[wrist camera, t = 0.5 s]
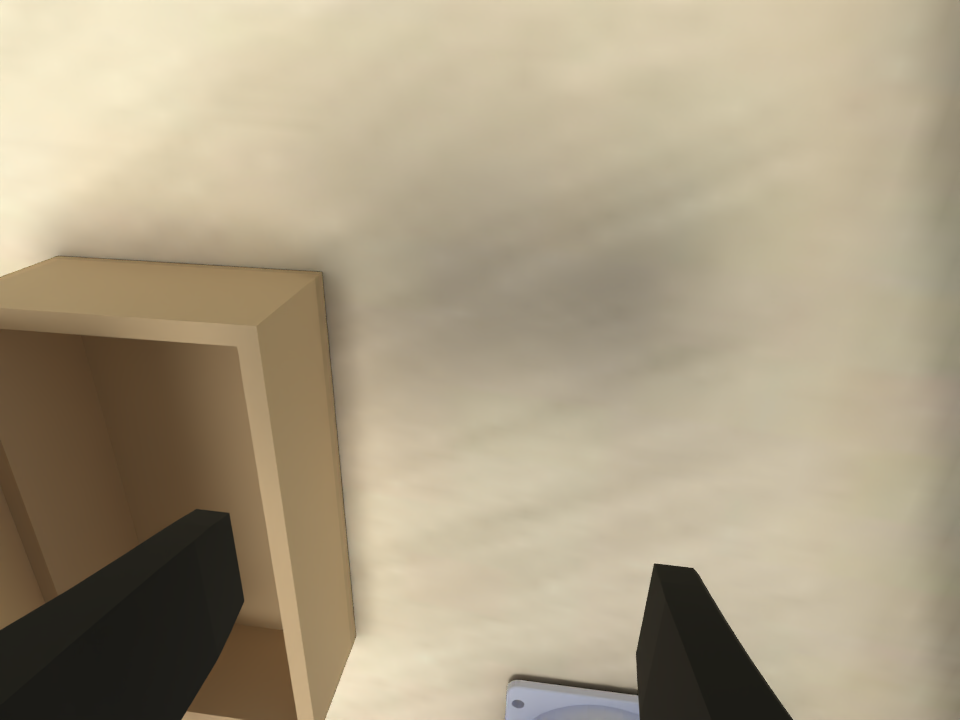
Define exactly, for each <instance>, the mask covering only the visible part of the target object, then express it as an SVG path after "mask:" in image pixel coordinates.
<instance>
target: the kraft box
mask: <svg viewBox="0 0 960 720" xmlns="http://www.w3.org/2000/svg"><path fill="white" fill-rule="evenodd" d="M0 486H1V489H2V492H3V494H4V497H5V499H6V502H7V505H8V507H9V510H10V513H11V515H12V518H13V520H14V523H15V526H16V528H17V531H18V533H19V536H20V539H21V541H22V544H23V546H24V549H25V552H26V554H27V557H28V560H29V562H30V565H31V567H32V570H33V573H34V575H35V578H36V580H37V583H38V586H39V588H40V591H41V593H42V596H43V599H44V601H45V603H47V602H48V601H50V600H52V599H54V598H55V597H57V596H59V595H60V594H62V593H64V592H65V591H67V590H69V589H70V588H72V587H74V586H75V585H77V584H78V583H80V582H81V581H83V580H85V579H86V578H88V577H89V576H91V575H93V574H94V573H96V572H97V571H99V570H100V569H102V568H104V567H105V566H107V565H108V564H110V563H111V562H113V561H115V560H116V559H118V558H119V557H121V556H122V555H124V554H126V553H127V552H129V551H130V550H132V549H133V548H135V547H136V546H138V545H139V544H141V543H143V542H144V541H146V540H147V539H149V538H150V537H152V536H153V535H155V534H156V533H158V532H160V531H161V530H163V529H164V528H166V527H167V526H169V525H171V524H172V523H174V522H175V521H177V520H179V519H180V518H182V517H184V516H185V515H187V514H189V513H190V512H192V511H194V510H195V509H201V510H210V511H218V512H227V513H230V519H231V525H232V531H233V536H234V542H235V548H236V554H237V560H238V566H239V571H240V577H241V583H242V589H243V595H244V603H243V606H242V608H241V610H240V612H239V615H238V617H237V619H236V622H235V624H234V626H233V628H232V631H231V633H230V635H229V637H228V639H227V641H226V643H225V645H224V648H223V650H222V652H221V654H220V656H219V658H218V660H217V662H216V663H215V665H214V667H213V668H212V670H211V672H210V673H209V675H208V677H207V678H206V680H205V682H204V683H203V685H202V687H201V688H200V690H199V692H198V693H197V695H196V697H195V698H194V700H193V702H192V703H191V705H190V707H189V708H188V710H187V711H186V713H185V715H184V716H183V718H182V720H325V718H326V715H327V713H328V710H329V707H330V705H331V702H332V699H333V697H334V694H335V691H336V689H337V686H338V683H339V681H340V678H341V675H342V673H343V670H344V667H345V665H346V662H347V659H348V657H349V654H350V652H351V649H352V646H353V644H354V641H355V638H356V633H355V622H354V611H353V600H352V590H351V579H350V568H349V557H348V547H347V536H346V525H345V514H344V503H343V493H342V482H341V471H340V460H339V450H338V439H337V428H336V417H335V407H334V396H333V385H332V374H331V364H330V353H329V342H328V331H327V320H326V310H325V299H324V288H323V277H322V272H313V271H296V270H280V269H263V268H247V267H230V266H214V265H197V264H181V263H165V262H148V261H132V260H115V259H99V258H82V257H66V256H56V257H53V258H51V259H48V260H45V261H42V262H40V263H37V264H34V265H32V266H29V267H26V268H23V269H21V270H18V271H15V272H13V273H10V274H7V275H4V276H2V277H0Z"/></svg>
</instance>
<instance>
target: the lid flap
mask: <svg viewBox="0 0 960 720" xmlns="http://www.w3.org/2000/svg"><path fill="white" fill-rule="evenodd" d="M43 604H45V601H44V599H43V596H42V593H41V591H40V588H39V586H38V583H37V580H36V578H35V575H34V573H33V570H32V567H31V565H30V562H29V560H28V557H27V554H26V552H25V549H24V546H23V544H22V541H21V539H20V536H19V533H18V531H17V528H16V526H15V523H14V520H13V518H12V515H11V513H10V510H9V507H8V505H7V502H6V499H5V497H4V494H3V492H2V489H1V486H0V630H1V629H3V628H5V627H6V626H8V625H10V624H11V623H13V622H15V621H16V620H18V619H20V618H21V617H23V616H25V615H26V614H28V613H30V612H32V611H33V610H35V609H37V608H38V607H40V606H42V605H43Z"/></svg>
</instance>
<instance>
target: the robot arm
mask: <svg viewBox="0 0 960 720" xmlns="http://www.w3.org/2000/svg"><path fill="white" fill-rule="evenodd" d="M243 603H244V595H243V589H242V583H241V577H240V571H239V566H238V560H237V554H236V548H235V542H234V536H233V531H232V525H231V519H230V513H227V512H218V511H210V510H201V509H195V510H194V511H192V512H190V513H189V514H187V515H185V516H184V517H182V518H180V519H179V520H177V521H175V522H174V523H172V524H171V525H169V526H167V527H166V528H164V529H163V530H161V531H160V532H158V533H156V534H155V535H153V536H152V537H150V538H149V539H147V540H146V541H144V542H143V543H141V544H139V545H138V546H136V547H135V548H133V549H132V550H130V551H129V552H127V553H126V554H124V555H122V556H121V557H119V558H118V559H116V560H115V561H113V562H111V563H110V564H108V565H107V566H105V567H104V568H102V569H100V570H99V571H97V572H96V573H94V574H93V575H91V576H89V577H88V578H86V579H85V580H83V581H81V582H80V583H78V584H77V585H75V586H74V587H72V588H70V589H69V590H67V591H65V592H64V593H62V594H60V595H59V596H57V597H55V598H54V599H52V600H50V601H48V602H47V603H45V604H43V605H42V606H40V607H38V608H37V609H35V610H33V611H32V612H30V613H28V614H26V615H25V616H23V617H21V618H20V619H18V620H16V621H15V622H13V623H11V624H10V625H8V626H6V627H5V628H3V629H1V630H0V720H182V718H183V716H184V715H185V713H186V711H187V710H188V708H189V707H190V705H191V703H192V702H193V700H194V698H195V697H196V695H197V693H198V692H199V690H200V688H201V687H202V685H203V683H204V682H205V680H206V678H207V677H208V675H209V673H210V672H211V670H212V668H213V667H214V665H215V663H216V662H217V660H218V658H219V656H220V654H221V652H222V650H223V648H224V645H225V643H226V641H227V639H228V637H229V635H230V633H231V631H232V628H233V626H234V624H235V622H236V619H237V617H238V615H239V612H240V610H241V608H242V606H243ZM636 661H637V682H638V695H631V694H623V693H616V692H608V691H600V690H593V689H585V688H578V687H570V686H562V685H555V684H547V683H539V682H532V681H524V680H514V681H511V682H510V683H509V684H508V686H507V695H506V713H505V720H793V719H792V718H791V716H790V715H789V713H788V712H787V711H786V709H785V708H784V707H783V705H782V704H781V702H780V701H779V700H778V698H777V697H776V695H775V694H774V692H773V691H772V689H771V688H770V686H769V685H768V683H767V682H766V681H765V679H764V678H763V676H762V675H761V673H760V672H759V670H758V669H757V667H756V666H755V665H754V663H753V662H752V660H751V659H750V657H749V656H748V654H747V652H746V651H745V649H744V648H743V646H742V645H741V643H740V642H739V640H738V639H737V637H736V635H735V634H734V632H733V631H732V629H731V627H730V626H729V624H728V623H727V621H726V620H725V618H724V616H723V615H722V613H721V611H720V610H719V608H718V606H717V605H716V603H715V601H714V600H713V598H712V596H711V595H710V593H709V591H708V590H707V588H706V586H705V585H704V583H703V581H702V579H701V578H700V576H699V574H698V573H697V572H696V571H695V570H694V568H688V567H680V566H671V565H663V564H655V563H654V567H653V572H652V577H651V582H650V587H649V592H648V597H647V602H646V607H645V612H644V617H643V622H642V627H641V632H640V637H639V642H638V647H637V652H636Z"/></svg>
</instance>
